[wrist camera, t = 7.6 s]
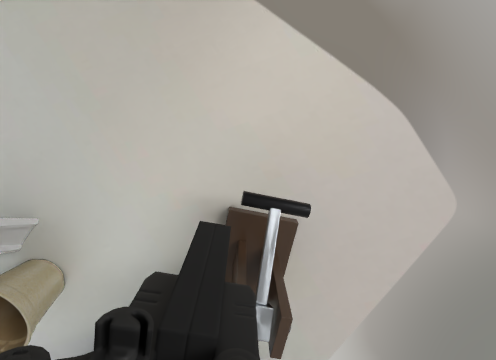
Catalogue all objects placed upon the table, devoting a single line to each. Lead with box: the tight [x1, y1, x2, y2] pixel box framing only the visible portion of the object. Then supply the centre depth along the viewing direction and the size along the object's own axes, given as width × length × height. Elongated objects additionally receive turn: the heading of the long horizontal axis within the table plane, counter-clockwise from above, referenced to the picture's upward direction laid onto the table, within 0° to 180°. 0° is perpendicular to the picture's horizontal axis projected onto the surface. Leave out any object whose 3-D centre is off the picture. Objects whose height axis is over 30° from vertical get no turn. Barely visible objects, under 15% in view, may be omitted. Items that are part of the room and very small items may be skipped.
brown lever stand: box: [225, 207, 298, 359], centre depth 31 cm, size 12×9×14 cm
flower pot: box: [0, 259, 65, 353], centre depth 34 cm, size 9×9×9 cm
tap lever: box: [241, 191, 311, 342], centre depth 27 cm, size 13×7×2 cm, turn 168°
